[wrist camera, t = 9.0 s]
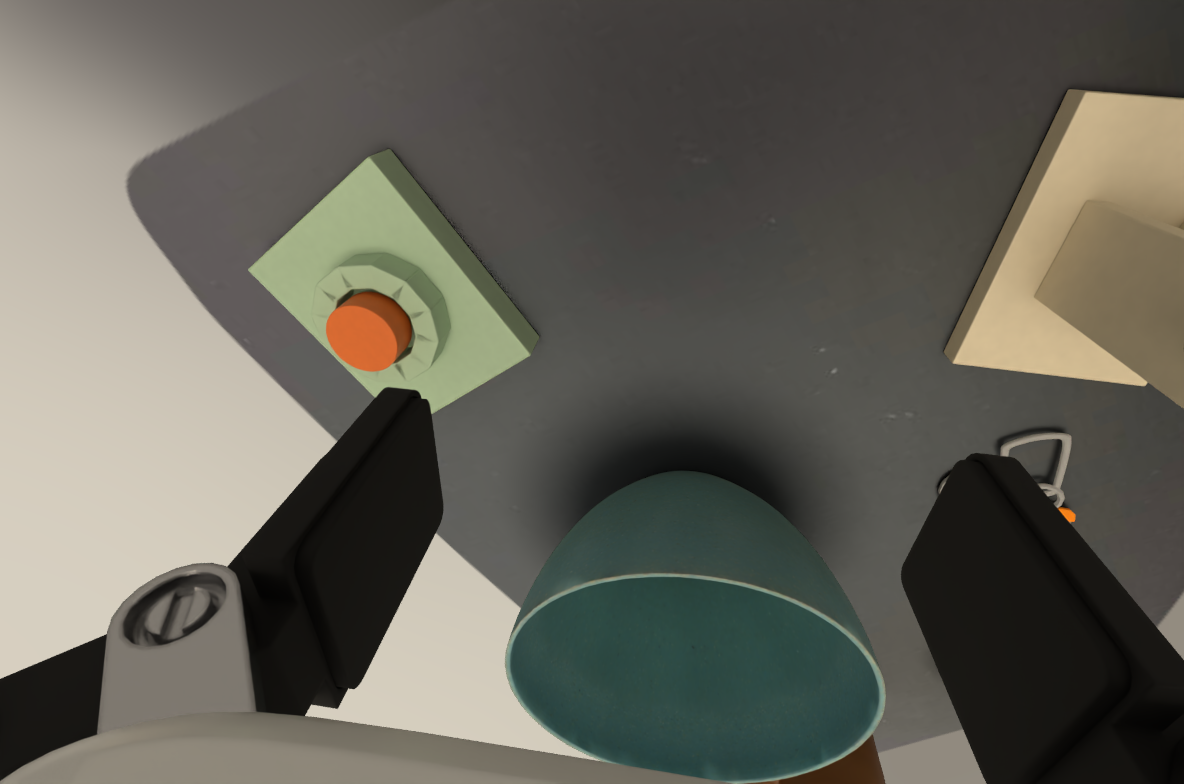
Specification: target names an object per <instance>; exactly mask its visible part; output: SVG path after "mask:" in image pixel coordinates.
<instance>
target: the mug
mask: <svg viewBox="0 0 1184 784" xmlns="http://www.w3.org/2000/svg"><path fill="white" fill-rule="evenodd" d="M744 784H885V780H884V775H883V772H882V768H881V765H880V761H879V757H878V753H877V749H876V746H875V742H874V738H873V735H871V736H870V737H869V738H868V739H867V740H866V741H865V742H864V743H863V744H862V745H861V746H860V747H858V748H857V749H856V750H854V751H853V752H851V753H850V754H848V755H846V756H845V757H843V758H842V759H840V760H838V761H835V762H833V763H831V764H829V765H827V766H825V767H822V768H820V769H817V770H814V771H811V772H808V773H805V774H801V775H798V776H794V777H790V778H785V779H780V780H775V781H767V782H758V783H744Z"/></svg>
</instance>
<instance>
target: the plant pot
mask: <svg viewBox="0 0 1184 784" xmlns="http://www.w3.org/2000/svg"><path fill="white" fill-rule="evenodd" d="M505 668H506V674H507V678H508V681H509V684H510V687H511V689H512V691H513V693H514V695H515V696H516V698H517V699H518V701H519V702H520V704H521V706H522V707H523V708H524V709H525V710H526V711H527V713H528V714H529V715H530V716H531V717H532V718H533V719H534V720H535V721H536V722H537V723H538V724H540V725H541V726H542V727H543V728H544V729H545V730H547V731H548V732H550V733H551V734H552V735H553V736H555V737H556V738H558V739H559V740H561V741H562V742H564V743H566V744H567V745H569V746H571V747H573V748H574V749H576V750H578V751H580V752H583V753H584V754H586V755H589V756H591V757H594V758H596V759H598V760H601V761H603V762H608V763H614V764H620V765H626V766H632V767H638V768H644V769H650V770H656V771H662V772H668V773H674V774H680V775H686V776H692V777H698V778H704V779H710V780H716V781H722V782H728V783H734V784H744V783H758V782H767V781H775V780H780V779H785V778H790V777H794V776H798V775H801V774H805V773H808V772H811V771H814V770H817V769H820V768H822V767H825V766H827V765H829V764H831V763H833V762H835V761H838V760H840V759H842V758H843V757H845V756H846V755H848V754H850V753H851V752H853V751H854V750H856V749H857V748H858V747H860V746H861V745H862V744H863V743H864V742H865V741H866V740H867V739H868V738H869V737H870V736H871V735H872V734H873V732H874V731H875V729H876V728H877V726H878V724H879V722H880V720H881V718H882V716H883V712H884V709H885V700H886V689H885V684H884V680H883V676H882V674H881V671H880V668H879V665H878V662H877V659H876V656H875V654H874V651H873V649H872V646H871V644H870V641H869V639H868V637H867V635H866V633H865V630H864V628H863V626H862V624H861V622H860V620H859V618H858V616H857V614H856V612H855V611H854V609H853V607H852V605H851V603H850V601H849V600H848V598H847V596H846V594H845V593H844V591H843V589H842V588H841V586H840V585H839V583H838V581H837V580H836V578H835V577H834V575H833V574H832V572H831V571H830V569H829V568H828V566H827V565H826V563H825V562H824V561H823V559H822V558H821V557H820V556H819V554H818V553H817V552H816V551H815V549H814V548H813V547H812V545H811V544H810V543H809V542H808V541H807V540H806V538H805V537H804V536H803V535H802V534H801V533H800V532H799V531H798V530H797V529H796V528H795V527H794V526H793V525H792V524H791V523H790V522H789V521H788V520H787V519H786V518H785V517H784V516H783V515H782V514H781V513H779V512H778V511H777V510H776V509H774V508H773V507H772V506H771V505H769V504H768V503H766V502H765V501H764V500H762V499H761V498H759V497H758V496H756V495H754V494H753V493H751V492H750V491H748V490H746V489H744V488H742V487H740V486H738V485H736V484H734V483H732V482H730V481H727V480H725V479H722V478H719V477H717V476H714V475H710V474H707V473H702V472H696V471H670V472H664V473H660V474H656V475H653V476H650V477H647V478H644V479H641V480H639V481H636V482H634V483H632V484H630V485H628V486H626V487H624V488H622V489H620V490H618V491H616V492H615V493H613V494H611V495H610V496H608V497H607V498H605V499H604V500H603V501H601V502H600V503H599V504H597V505H596V506H595V507H594V508H592V509H591V510H590V511H589V512H588V513H587V514H586V515H585V516H584V517H582V518H581V520H580V521H579V522H578V523H577V524H576V525H575V526H574V527H573V528H572V529H571V530H570V531H569V532H568V534H567V535H566V536H565V537H564V538H563V540H562V541H561V542H560V543H559V545H558V546H557V547H556V549H555V550H554V552H553V553H552V554H551V556H550V557H549V559H548V560H547V562H546V563H545V565H544V567H543V568H542V570H541V571H540V573H539V575H538V577H537V578H536V580H535V582H534V584H533V586H532V587H531V589H530V591H529V593H528V595H527V597H526V599H525V601H524V603H523V606H522V608H521V610H520V612H519V615H518V617H517V620H516V622H515V625H514V628H513V630H512V633H511V636H510V639H509V642H508V646H507V650H506V656H505Z"/></svg>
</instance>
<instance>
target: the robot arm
mask: <svg viewBox="0 0 1184 784" xmlns="http://www.w3.org/2000/svg"><path fill="white" fill-rule="evenodd" d="M442 515H443V498H442V491H441V483H440V476H439V468H438V461H437V453H436V446H435V438H434V431H433V423H432V416H431V408H430V403H429V401H428V400H427V399H422V398H421V395H420V393H419V392H418V391H417V390H411V389H402V388H393V387H385V388H384V389H383V390H382V391H381V392H380V393H379V394H378V395H377V396H376V398H375V399H374V400H373V401H372V402H371V403H370V405H369V406H368V407H367V408H366V409H365V410H364V411H363V413H362V414H361V415H360V416H359V417H358V418H357V420H356V421H355V422H354V423H353V424H352V425H351V427H350V428H349V429H348V430H347V431H346V432H345V433H344V435H343V436H342V437H341V438H340V439H339V440H338V442H337V443H336V444H335V445H334V446H333V447H332V449H331V450H330V451H329V452H328V453H327V454H326V455H325V456H324V457H323V458H322V459H320V461H319V462H318V463H317V464H316V465H315V466H314V468H313V469H312V470H311V471H310V472H309V473H308V474H307V476H306V477H305V478H304V479H303V480H302V481H301V483H300V484H299V485H298V486H297V487H296V488H295V489H294V491H293V492H292V493H291V494H290V495H289V496H288V497H287V499H286V500H285V501H284V502H283V503H282V504H281V505H280V507H279V508H278V509H277V510H276V511H275V512H274V514H273V515H272V516H271V517H270V518H269V519H268V520H267V522H266V523H265V524H264V525H263V526H262V527H261V529H260V530H259V531H258V532H257V533H256V534H255V535H254V537H253V538H252V539H251V540H250V541H249V543H247V545H246V546H245V547H244V548H243V549H242V550H241V552H240V553H239V554H238V555H237V556H236V557H235V558H234V560H233V561H232V562H231V563H230V564H229V565H228V567H226V566H223V565H218V564H214V563H199V564H191V565H188V566H184V567H179V568H176V569H174V570H171V571H169V572H166V573H164V574H162V575H159V576H157V577H156V578H154V579H152V580H151V581H149V582H147V583H146V584H144V585H143V586H141V587H140V588H138V589H137V590H136V591H135V592H134V593H133V594H132V595H130V596H129V597H128V598H127V599H126V600H125V601H124V602H123V603H122V604H121V606H120V607H119V608H118V610H117V611H116V613H115V614H114V615H113V617H112V619H111V622H110V625H109V628H108V631H107V634H106V635H104V636H102V637H99V638H97V639H94V640H92V641H90V642H88V643H85V644H83V645H80V646H78V647H75V648H73V649H70V650H68V651H66V652H64V653H61V654H59V655H56V656H54V657H51V658H49V659H47V660H44V661H42V662H39V663H37V664H35V665H32V666H30V667H28V668H25V669H23V670H20V671H18V672H16V673H13V674H11V675H9V676H6V677H4V678H1V679H0V784H734V783H728V782H722V781H716V780H710V779H704V778H698V777H692V776H686V775H680V774H674V773H668V772H662V771H656V770H650V769H644V768H638V767H632V766H626V765H620V764H614V763H608V762H602V761H595V760H589V759H582V758H577V757H571V756H565V755H558V754H552V753H546V752H540V751H533V750H527V749H521V748H515V747H509V746H502V745H496V744H489V743H484V742H478V741H471V740H466V739H459V738H453V737H447V736H441V735H435V734H428V733H422V732H415V731H408V730H401V729H394V728H387V727H380V726H372V725H366V724H358V723H352V722H345V721H338V720H331V719H324V718H317V717H308V716H305V714H306V713H307V710H308V709H309V707H310V706H311V704H312V705H318V706H324V707H331V708H336V709H337V708H338V707H339V705H340V703H341V701H342V699H343V697H344V696H345V694H346V692H347V690H348V688H349V689H355V688H356V687H357V686H358V685H359V684H360V683H361V681H362V679H363V677H364V675H365V674H366V672H367V670H368V668H369V665H370V664H371V662H372V659H373V657H374V655H375V653H376V651H377V649H378V647H379V645H380V643H381V641H382V639H383V637H384V635H385V633H386V631H387V629H388V627H389V625H390V623H391V621H392V619H393V617H394V615H395V613H396V611H397V609H398V607H399V605H400V603H401V601H402V599H403V597H404V595H405V593H406V591H407V589H408V587H409V585H410V583H411V581H412V579H413V577H414V575H415V573H416V571H417V569H418V567H419V565H420V563H421V561H422V559H423V557H424V555H425V553H426V551H427V549H428V547H429V545H430V543H431V541H432V539H433V537H434V535H435V533H436V531H437V529H438V527H439V525H440V523H441V520H442ZM901 580H902V585H903V588H904V590H905V592H906V595H907V597H908V600H909V602H910V604H911V607H912V609H913V611H914V614H915V616H916V618H917V621H918V623H919V626H920V628H921V630H922V633H923V635H924V637H925V640H926V642H927V645H928V647H929V649H930V652H931V654H932V656H933V659H934V661H935V664H936V666H937V668H938V671H939V673H940V675H941V678H942V680H943V682H944V685H945V687H946V690H947V692H948V694H949V697H950V699H951V701H952V704H953V706H954V709H955V711H956V713H957V716H958V718H959V720H960V723H961V725H962V728H963V730H964V732H965V735H966V737H967V739H968V742H969V744H970V746H971V749H972V751H973V754H974V756H975V758H976V761H977V763H978V765H979V768H980V770H981V773H982V774H983V777H984V779H985V781H986V783H987V784H1184V660H1183V659H1182V658H1181V656H1180V655H1179V654H1178V653H1177V651H1176V650H1175V649H1174V648H1173V647H1172V645H1171V644H1170V643H1169V642H1168V641H1167V639H1166V638H1165V637H1164V636H1163V635H1162V633H1161V632H1160V631H1159V630H1158V629H1157V627H1156V626H1155V625H1154V624H1153V623H1152V621H1151V620H1150V619H1149V618H1148V617H1147V615H1146V614H1145V613H1144V612H1143V610H1142V609H1141V608H1140V607H1139V606H1138V604H1137V603H1136V602H1135V601H1134V600H1133V598H1132V597H1131V596H1130V595H1129V594H1128V592H1127V591H1126V590H1125V589H1124V588H1123V586H1122V585H1121V584H1120V583H1119V582H1118V580H1117V579H1116V578H1115V577H1114V576H1113V574H1112V573H1111V572H1110V571H1109V570H1108V568H1107V567H1106V566H1105V565H1104V564H1103V562H1102V561H1101V560H1100V559H1099V558H1098V556H1097V555H1096V554H1095V553H1094V552H1093V550H1092V549H1091V548H1090V547H1089V545H1088V544H1087V543H1086V542H1085V541H1084V539H1083V538H1082V537H1081V536H1080V535H1079V533H1078V532H1077V531H1076V530H1075V529H1074V527H1073V526H1072V525H1071V524H1070V523H1069V521H1068V520H1067V519H1066V518H1065V517H1064V515H1063V514H1062V513H1061V512H1060V511H1059V509H1058V508H1057V507H1056V506H1055V505H1054V503H1053V502H1052V501H1051V500H1050V499H1049V497H1048V496H1047V495H1046V494H1045V493H1044V491H1043V490H1042V489H1041V488H1040V487H1039V485H1038V484H1037V483H1036V482H1035V481H1034V479H1033V478H1032V477H1031V476H1030V474H1029V473H1028V472H1027V471H1026V470H1025V468H1024V467H1023V466H1022V465H1021V464H1020V462H1018V461H1017V460H1016V459H1015V458H1012V457H1007V456H998V455H989V454H980V453H974V454H971V455H970V456H968V457H967V458H966V460H960V461H958V462H957V463H956V464H955V465H954V467H953V469H952V471H951V473H950V475H949V477H948V479H947V481H946V482H945V484H944V486H943V488H942V490H941V492H940V494H939V496H938V498H937V500H936V502H935V504H934V506H933V508H932V510H931V511H930V513H929V515H928V517H927V519H926V521H925V523H924V525H923V527H922V529H921V531H920V533H919V535H918V537H917V539H916V541H915V542H914V544H913V546H912V548H911V550H910V552H909V554H908V556H907V558H906V560H905V562H904V564H903V566H902V571H901Z"/></svg>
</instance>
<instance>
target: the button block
mask: <svg viewBox="0 0 1184 784" xmlns="http://www.w3.org/2000/svg"><path fill="white" fill-rule="evenodd" d="M248 270H249V272H250V273H251V274H252V275H253V276H254V277H255V278H256V279H257V280H258V281H259V282H260V283H261V284H262V285H263V286H264V287H265V288H266V289H267V290H268V291H269V292H270V293H271V294H272V295H273V296H274V297H275V298H276V299H277V300H278V301H279V302H280V303H281V304H282V305H283V306H284V307H285V308H286V309H287V310H288V311H289V312H290V313H291V314H292V315H293V316H294V317H295V318H296V319H297V320H298V321H299V322H300V323H301V324H302V325H303V326H304V327H305V328H306V329H307V330H308V331H309V332H310V333H311V334H312V335H313V336H314V337H315V338H316V339H317V340H318V341H319V342H320V343H321V344H322V345H323V346H324V347H325V348H326V349H327V350H328V351H329V352H330V353H331V354H332V355H333V356H334V357H335V358H336V359H337V360H338V361H339V362H340V363H341V364H342V365H343V366H344V367H345V368H346V369H347V370H348V371H349V372H350V373H351V374H352V375H353V376H354V377H355V378H356V379H357V380H358V381H359V382H360V383H361V384H362V385H363V386H364V387H365V388H366V389H367V390H368V391H369V392H370V393H371V394H372V395H373V396H374V397H375V398H376V396H377V395H378V394H379V393H380V392H381V391H382V390H383V389H384V388H385V387H393V388H402V389H411V390H417V391H418V392H419V393H420V395H421V398H422V399H427V400H428V401H429V403H430V408H431V414H433V413H434V412H436V411H438V410H440V409H441V408H443V407H445V406H446V405H448V404H450V403H451V402H453V401H455V400H456V399H458V398H460V397H461V396H463V395H465V394H467V393H468V392H470V391H472V390H473V389H475V388H477V387H478V386H480V385H482V384H483V383H485V382H487V381H488V380H490V379H492V378H493V377H495V376H497V375H499V374H500V373H502V372H504V371H505V370H507V369H509V368H510V367H512V366H514V365H515V364H517V363H519V362H520V361H522V360H524V359H525V358H527V357H529V356H531V354H532V352H533V350H534V348H535V345H536V343H537V341H538V339H539V336H538V334H537V333H536V332H535V331H534V329H533V328H532V327H531V326H530V324H529V323H528V322H527V320H526V319H525V318H524V317H523V315H522V314H521V313H520V312H519V310H518V309H517V308H516V307H515V305H514V304H513V303H512V302H511V300H510V299H509V298H508V297H507V295H506V294H505V293H504V292H503V290H502V289H501V288H500V287H499V285H498V284H497V283H496V281H495V280H494V279H493V278H492V276H491V275H490V274H489V273H488V271H487V270H486V269H485V268H484V266H483V265H482V264H481V263H480V261H479V260H478V259H477V258H476V256H475V255H474V254H473V253H472V251H471V250H470V249H469V248H468V246H467V245H466V244H465V242H464V241H463V240H462V239H461V237H460V236H459V235H458V234H457V232H456V231H455V230H454V229H453V227H452V226H451V225H450V224H449V222H448V221H447V220H446V219H445V217H444V216H443V215H442V214H441V212H440V211H439V210H438V209H437V207H436V206H435V205H434V204H433V202H432V201H431V200H430V198H429V197H428V196H427V195H426V193H425V192H424V191H423V190H422V188H421V187H420V186H419V185H418V183H417V182H416V181H415V180H414V178H413V177H412V176H411V175H410V173H409V172H408V171H407V170H406V168H405V167H404V166H403V165H402V163H401V162H400V161H399V159H398V158H397V157H396V156H395V154H394V153H393V152H392V151H391V150H390V149H387V150H385V151H382V152H380V153H377V154H374V155H372V156H369V157H367V158H366V159H365V160H364V161H363V162H362V163H361V164H360V165H359V166H358V167H357V168H356V169H355V170H354V171H353V172H351V173H350V174H349V175H348V176H347V177H346V178H345V179H344V180H343V181H342V182H341V183H340V184H339V185H338V186H337V187H335V188H334V189H333V190H332V191H331V192H330V193H329V194H328V195H327V196H326V197H325V198H324V199H323V200H322V201H320V202H319V203H318V204H317V205H316V206H315V207H314V208H313V209H312V210H311V211H310V212H309V213H308V214H307V215H306V216H304V217H303V218H302V219H301V220H300V221H299V222H298V223H297V224H296V225H295V226H294V227H293V228H292V229H291V230H290V231H288V232H287V233H286V234H285V235H284V236H283V237H282V238H281V239H280V240H279V241H278V242H277V243H276V244H275V245H273V246H272V247H271V248H270V249H269V250H268V251H267V252H266V253H265V254H264V255H263V256H262V257H261V258H260V259H259V260H257V261H256V262H255V263H254V264H253V265H252V266H251V267H250V268H249V269H248ZM361 292H376V293H380V294H382V295H385V296H387V297H389V298H390V299H392V300H393V301H395V302H396V303H397V304H398V305H399V306H400V307H401V308H402V309H403V310H404V312H405V313H406V315H407V317H408V319H409V321H410V324H411V329H412V337H411V341H410V343H409V345H408V347H407V348H406V349H405V350H404V351H403V352H402V353H401V355H400V356H399V357H398V358H397V359H396V360H395V361H394V362H393V364H392V365H391V366H389V367H388V368H386V369H384V370H381V371H375V372H370V371H363V370H360V369H357V368H355V367H353V366H351V365H349V364H347V363H346V362H345V361H343V360H342V359H341V358H340V357H339V356H338V355H337V354H336V353H335V351H334V350H333V349H332V347H331V345H330V343H329V341H328V338H327V334H326V323H327V320H328V318H329V316H330V314H331V313H332V312H333V311H334V310H335V309H337V308H338V307H339V306H340V305H342V304H343V303H344V302H346V301H347V300H348V299H349V298H351V297H352V296H354V295H355V294H358V293H361Z"/></svg>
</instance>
